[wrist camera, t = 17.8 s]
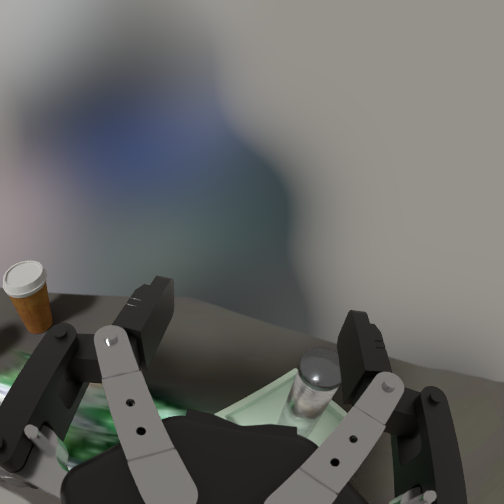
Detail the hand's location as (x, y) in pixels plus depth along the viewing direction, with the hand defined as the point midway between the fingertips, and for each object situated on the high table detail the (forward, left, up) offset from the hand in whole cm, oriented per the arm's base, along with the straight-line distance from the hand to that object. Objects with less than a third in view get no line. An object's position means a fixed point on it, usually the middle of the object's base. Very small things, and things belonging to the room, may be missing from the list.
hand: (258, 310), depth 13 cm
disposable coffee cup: (-15, +43, -32) cm, 56 cm away
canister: (+14, +2, -31) cm, 34 cm away
